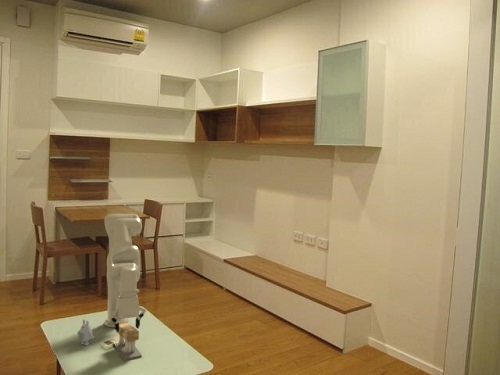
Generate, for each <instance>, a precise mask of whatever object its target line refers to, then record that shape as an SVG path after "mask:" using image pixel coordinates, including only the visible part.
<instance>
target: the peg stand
mask: <svg viewBox="0 0 500 375" xmlns="http://www.w3.org/2000/svg"><path fill="white" fill-rule="evenodd" d="M118 335H119V334H118ZM118 338H119V339H118V341H119V343H118V344H116V345H115V346H114V348H115V349H116V350H117V352H118V354H119V355H120V356H121V358H122V360H123V361H124V362H125V361H131V360H134V359H139V358H142V357H143V356H142V354H141V352H140V351H139V349H138V348H137V347H136V340H135V341H131V342H128V341H126V340H125V339H124V338H123V337H122V336H120V335H119V336H118ZM124 340H125V342H124Z"/></svg>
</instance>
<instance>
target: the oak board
mask: <svg viewBox="0 0 500 375" xmlns="http://www.w3.org/2000/svg"><path fill="white" fill-rule="evenodd" d="M115 333H116V334H118V335H120V336H122V337H123V338H124V340H126V341H128V342H131V341H135V342H136V341H138V340H139V339H140V331H139V330H138V329H137V328H136V327H134V326H133V325H131V324H130V323H129V322H128V323H127V322H122V323H119V332H117V331H116V330H115Z"/></svg>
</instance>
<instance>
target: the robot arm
mask: <svg viewBox="0 0 500 375" xmlns="http://www.w3.org/2000/svg"><path fill="white" fill-rule="evenodd" d="M104 227H105V231H106V234H107V236H108V237H107V238H108V254H107V258H106V280H107V281H106V282H107V318H106V319H105V320H104V326H106V327H108V328H114V330H115V332H116V331H117V332H119V323H122V322H127V323H129V318H130V319H131V318H135V329H137V330H138V329H140V325H141V320H142V318H143V317H144V315H145V314H146V312H147V310H146V309H145V308H143V307H141V306H140V301H139V295H138V293H140V289H138V288H137V287H138V286H137V284H138V282H139V281H140V279H141V262H140V261H141V260H140V258H141V257H140V256H141V255H140V249H139V247H138V246H137V245H135V244H134V245H133V240H132V235H139V234H141V233H142V229H143V224H142V220H141V217H139V216H138V214H136V213H111V214H108V215H106V216H105V217H104ZM140 311H141V312H140ZM117 332H116V333H117Z"/></svg>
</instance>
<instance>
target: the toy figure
mask: <svg viewBox="0 0 500 375" xmlns="http://www.w3.org/2000/svg"><path fill="white" fill-rule="evenodd" d="M89 324H90V322H89V320H85V319H82V325H81V327H80V329H79V330H78V331H77V333H76V334H77V335H78V339H79V340H80V341H81V343H80V345H84V346H88V345H89V344H90V343H89V342H90V340H91V339H92V340H93V339H94V335H93V331H92V328H91V326H90V325H89Z"/></svg>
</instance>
